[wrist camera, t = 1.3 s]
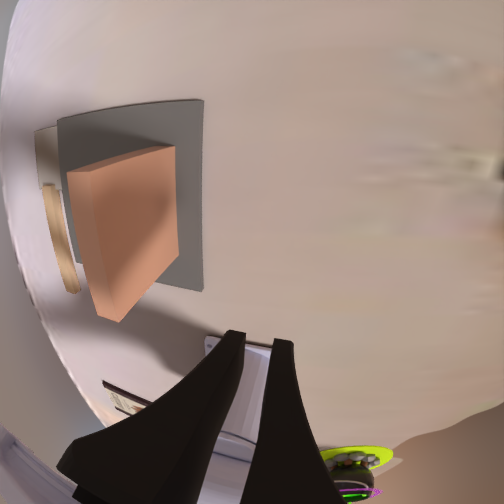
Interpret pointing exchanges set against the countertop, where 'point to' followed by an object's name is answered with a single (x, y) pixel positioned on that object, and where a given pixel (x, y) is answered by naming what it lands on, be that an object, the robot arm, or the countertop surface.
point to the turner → (54, 202)
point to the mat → (136, 138)
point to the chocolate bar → (125, 400)
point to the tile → (125, 225)
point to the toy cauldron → (355, 469)
